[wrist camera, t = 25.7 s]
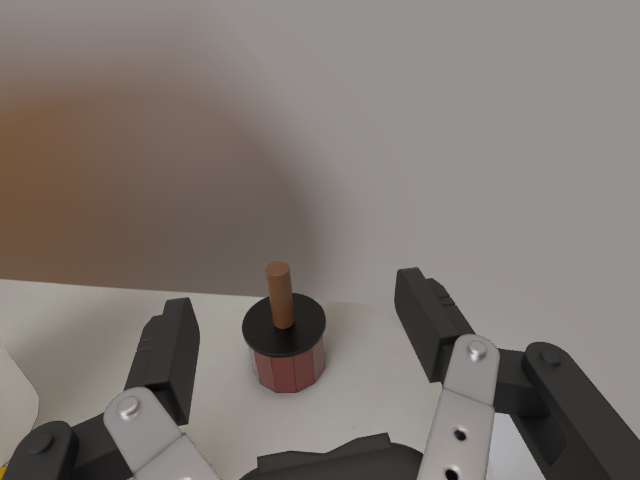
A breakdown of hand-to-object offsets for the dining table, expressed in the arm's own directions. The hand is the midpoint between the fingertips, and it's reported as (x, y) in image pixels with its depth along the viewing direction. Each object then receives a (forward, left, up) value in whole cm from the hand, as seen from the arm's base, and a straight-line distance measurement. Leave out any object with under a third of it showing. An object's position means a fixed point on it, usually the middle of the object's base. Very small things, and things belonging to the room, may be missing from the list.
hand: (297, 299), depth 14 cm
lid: (+14, -15, -23) cm, 31 cm away
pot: (+14, -16, -30) cm, 37 cm away
